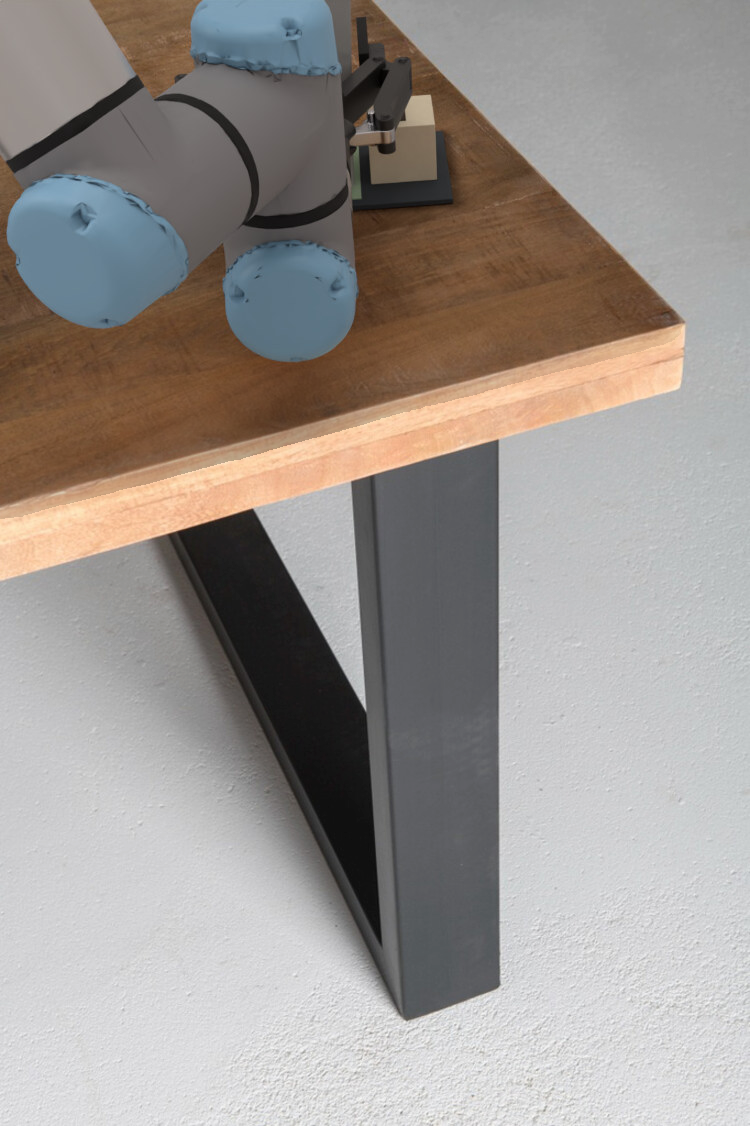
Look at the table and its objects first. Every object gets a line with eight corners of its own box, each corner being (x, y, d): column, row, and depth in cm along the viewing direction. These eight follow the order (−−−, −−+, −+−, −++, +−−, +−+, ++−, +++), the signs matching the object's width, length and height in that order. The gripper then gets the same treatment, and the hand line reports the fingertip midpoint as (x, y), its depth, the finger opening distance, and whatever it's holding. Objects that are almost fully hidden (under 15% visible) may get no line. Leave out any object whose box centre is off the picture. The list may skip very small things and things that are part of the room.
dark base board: (159, 224, 106) (148, 163, 102) (169, 155, 114) (159, 95, 110) (453, 203, 105) (451, 140, 102) (442, 135, 113) (441, 75, 110)
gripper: (130, 249, 93) (157, 98, 109) (467, 224, 92) (443, 76, 109) (108, 142, 88) (140, 1, 104) (464, 116, 87) (440, -22, 104)
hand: (294, 39), depth 106 cm, fingers open, 9 cm apart
